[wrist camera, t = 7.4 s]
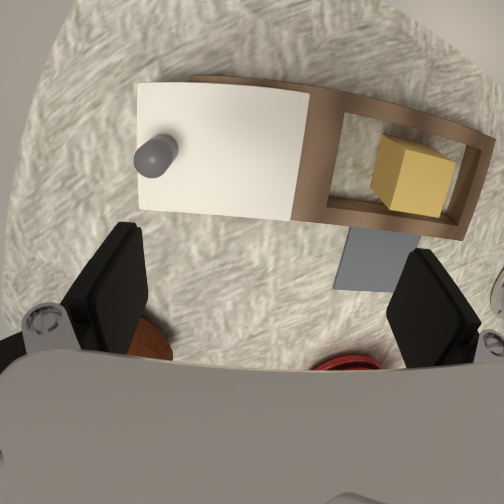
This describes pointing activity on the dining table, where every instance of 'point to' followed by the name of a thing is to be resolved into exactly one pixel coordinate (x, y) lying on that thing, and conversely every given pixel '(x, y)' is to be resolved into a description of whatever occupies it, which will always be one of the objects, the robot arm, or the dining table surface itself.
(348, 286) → the mat
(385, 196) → the block
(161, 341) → the potato
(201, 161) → the lid
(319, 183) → the brown box
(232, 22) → the dining table surface
